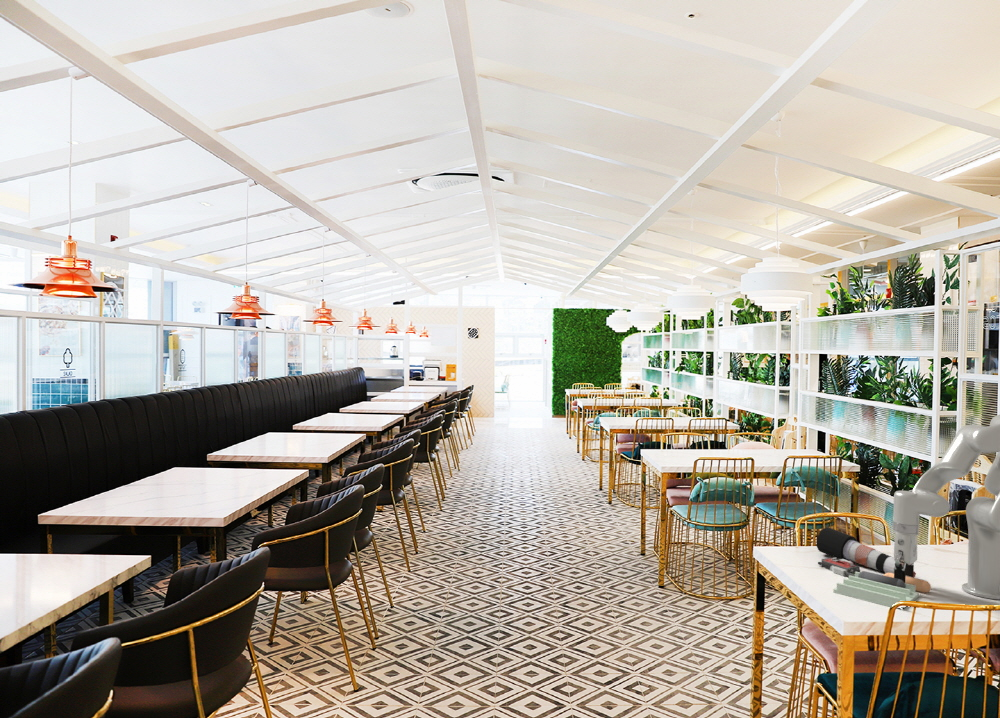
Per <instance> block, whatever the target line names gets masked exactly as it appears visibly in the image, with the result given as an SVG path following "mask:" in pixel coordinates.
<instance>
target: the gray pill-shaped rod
mask: <svg viewBox="0 0 1000 718" xmlns="http://www.w3.org/2000/svg"><path fill="white" fill-rule="evenodd" d="M858 578H863V579H867V580H871V581H875V582H880V583H884V584H888V585H892V586H896V587H901V588H906V585H905V583H904V581H902V580H901V579H897V578H892V577H888V576H884V574H883V575H882V574H879V573H874V572H870V571H865V570H862V571H860V573H859V575H858Z"/></svg>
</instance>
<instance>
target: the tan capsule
mask: <svg viewBox="0 0 1000 718" xmlns="http://www.w3.org/2000/svg"><path fill="white" fill-rule="evenodd" d="M883 575H884V576H888V577H892V578H894V573H884V574H883ZM905 583H907V584H912V585H916V592H917V593H919V592H920V593H923V594H926V593H929V592H930V591H931V590H932V586H931V583H930V582H929V581H927V580H924V579H920V578H915V577H914V578H913V577H910V576H906V578H905Z"/></svg>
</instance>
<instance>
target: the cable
mask: <svg viewBox="0 0 1000 718" xmlns="http://www.w3.org/2000/svg"><path fill="white" fill-rule="evenodd" d="M816 549H817V550H818V552H820V553H823V554H825V555H828V556H830V557H831V558H836V559H837V560H839V559H845V560H847V561H851V562H853V563H854V562H855V563H856V564H859V565H862V566H864V567H866V568H872V569H874V570H876V571H880V572H882V573H884V574H885V573H894V567H895V561H894V556H891V555H889V554H886V553H884V552H881V551H879V550H877V549H876V548H873V547H870V546H868V545H865V544H862V543H861V542H859V541H858V539H856V537H855V536H853V535H850V534H847V533H845V532H842V531H839V530H837V529H834V528H831V527H829V526H828V527H824V528H822V530H820V532H819V533H818V535H817V538H816ZM902 567H903V564H902ZM916 575H917V573H916V571H914V574H913V577H912V578H915V577H916Z"/></svg>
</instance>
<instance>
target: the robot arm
mask: <svg viewBox="0 0 1000 718" xmlns="http://www.w3.org/2000/svg"><path fill="white" fill-rule="evenodd" d="M982 453H984V454H993V453H996V454H995V455H996V456H995V458H994V460H993V462H992V465H991V466H990V468H989V469H988V472H987V474H986V475H985V479H984V482H983V486H984V488H985V490H986V491H987V492H989V494H992V495H993V496H996V498H995V499H994V498H991V497H987V496H976V497H974V498H972V499H970V500H969V502H968V503H967V504H966V507H965V517H966V521H967V529H968V545H967V548H968V550H967V552H968V553H967V583H962V584H961V589H962V591H964V592H966V593H967V594H970V595H972V596H976V597H980V598H984V599H992V600H1000V414H997V415H995V416H993V417H992V418H991V420H990V423H989V426H983V425H977V424H966V425H964V426H962V427H961V428H960V429H959V430H958V432H957V433H956V435H955V436H954V438H953V440H952V441H951V443H950V444H949V446H948V447H947V449H946V450H945V452H944V454H943V456H942V457H941V458H940V459H939V461H938V462H936V463H935V464H933V465H932V466H931V467H930V468H929V469H927V470H926V471H925V472H924V473H923V474H922V475H921V476H920V478H919V479H918V480H917V482H916V483H915V485H914V487H913V489H912V490H896V491H895V492H894V493H893V494H894V495H893V509H892V532H894V533H895V536H894V545H893V558H894V561H895V567H894V578H897V579H901V580H902V581H904V583H905V578H906V576H907V577H912V578H913V574H914V572H915V571H914V569H915V566H914V563H916V562H917V561H918V535H919V534H920V515H923V516H928V517H934V518H940V517H944V516H946V515H947V514H948V513H949V512H950V509H951V505H950V502H949V501H948V500H947V499H946V498H945V497H944V496H942V495H940V494H939V492H940V491H941V489H942V488H943V487H944V486H945V485H947V484H948V483H950V482H951V481H954V480H958V479H960V478H964V477H965V476H967V475H968V474H969V473H970V471H971V470H972V468H973V467H974V465H975V463H976V461H977V460H978V458H979V457H980V456H981V454H982ZM902 564H903V567H902Z"/></svg>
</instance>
